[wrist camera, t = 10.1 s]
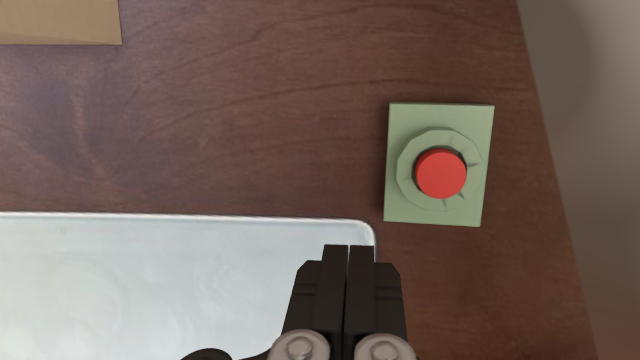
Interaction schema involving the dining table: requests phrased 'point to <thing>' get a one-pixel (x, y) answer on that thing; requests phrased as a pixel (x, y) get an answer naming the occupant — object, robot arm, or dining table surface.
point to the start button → (440, 173)
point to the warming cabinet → (60, 22)
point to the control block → (429, 133)
